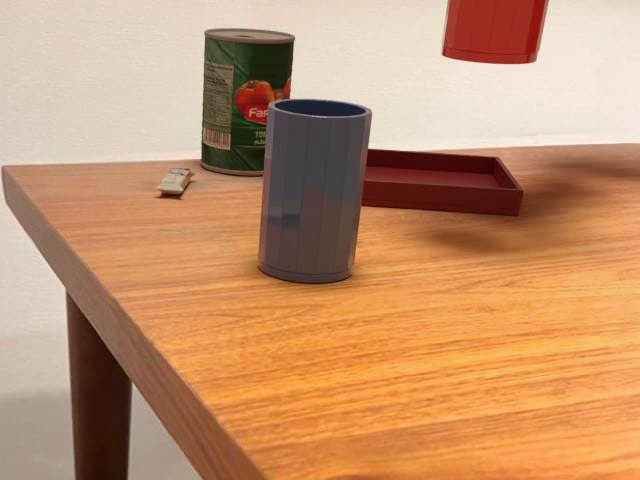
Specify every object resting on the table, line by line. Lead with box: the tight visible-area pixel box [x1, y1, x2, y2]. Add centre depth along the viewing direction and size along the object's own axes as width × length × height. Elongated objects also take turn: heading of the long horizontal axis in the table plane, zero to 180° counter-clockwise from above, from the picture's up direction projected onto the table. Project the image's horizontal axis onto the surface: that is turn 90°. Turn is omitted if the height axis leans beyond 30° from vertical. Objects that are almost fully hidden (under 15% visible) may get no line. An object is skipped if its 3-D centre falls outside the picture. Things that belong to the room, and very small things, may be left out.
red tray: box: [361, 147, 525, 217], centre depth 84 cm, size 15×13×2 cm
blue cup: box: [257, 98, 373, 284], centre depth 63 cm, size 6×6×10 cm
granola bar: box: [154, 167, 196, 195], centre depth 81 cm, size 7×1×3 cm
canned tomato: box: [199, 27, 296, 177], centre depth 87 cm, size 8×8×11 cm
